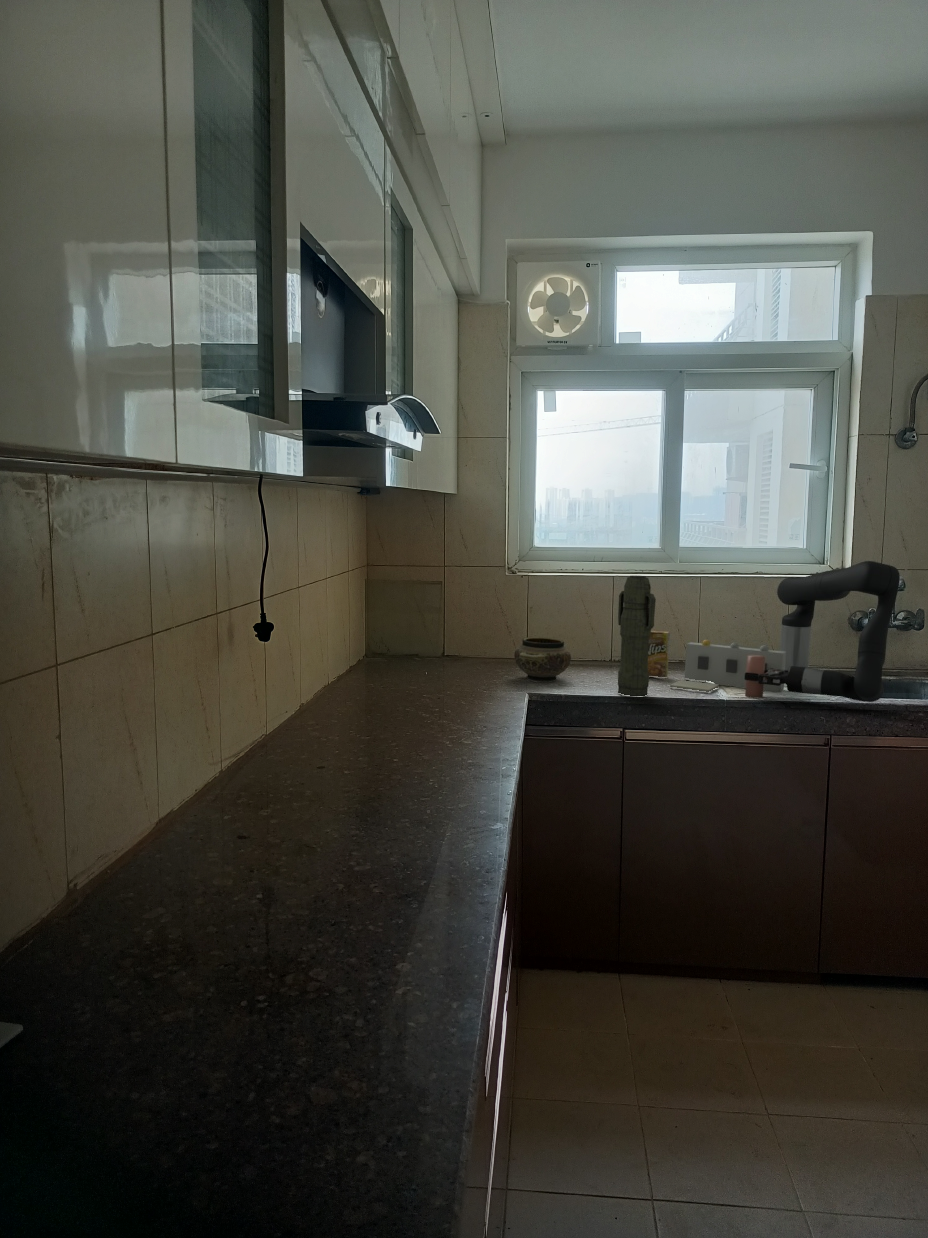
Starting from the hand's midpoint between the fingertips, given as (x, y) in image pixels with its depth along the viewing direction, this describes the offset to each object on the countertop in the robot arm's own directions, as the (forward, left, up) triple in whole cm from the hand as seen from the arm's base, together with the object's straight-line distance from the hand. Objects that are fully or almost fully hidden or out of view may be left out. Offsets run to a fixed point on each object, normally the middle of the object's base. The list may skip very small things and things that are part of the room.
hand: (748, 674), depth 257 cm
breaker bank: (-14, -8, -7) cm, 17 cm away
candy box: (-10, -33, -7) cm, 35 cm away
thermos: (+20, -28, -7) cm, 35 cm away
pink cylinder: (0, +2, -7) cm, 7 cm away
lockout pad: (0, -16, -7) cm, 17 cm away
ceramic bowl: (+17, -60, -7) cm, 63 cm away
